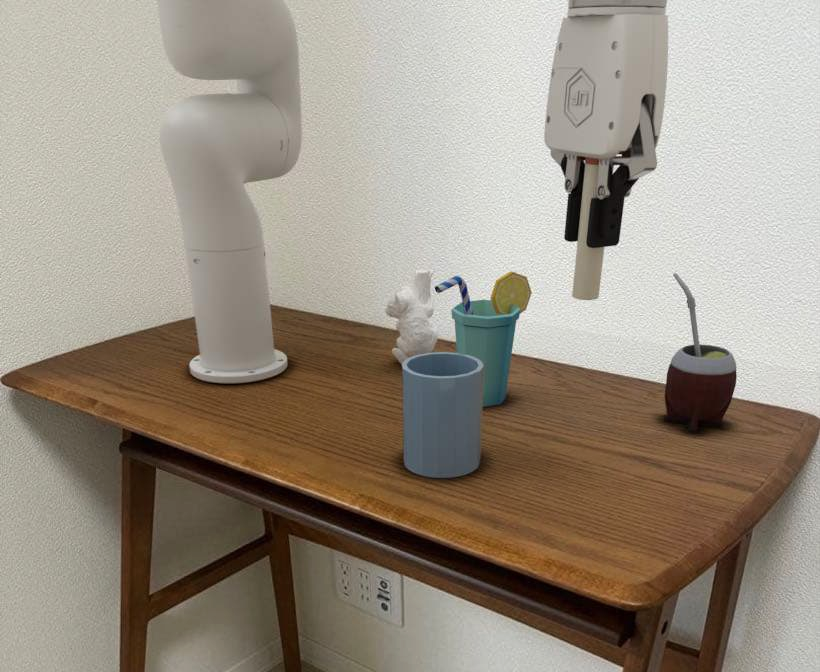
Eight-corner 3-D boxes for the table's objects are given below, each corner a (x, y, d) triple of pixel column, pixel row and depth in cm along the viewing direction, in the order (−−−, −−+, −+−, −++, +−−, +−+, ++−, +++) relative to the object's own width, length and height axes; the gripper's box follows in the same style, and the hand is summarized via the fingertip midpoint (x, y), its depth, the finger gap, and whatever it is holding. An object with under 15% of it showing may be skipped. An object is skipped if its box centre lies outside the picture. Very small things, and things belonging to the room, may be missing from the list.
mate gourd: (727, 438, 86) (756, 293, 78) (650, 430, 88) (671, 288, 80) (725, 413, 92) (752, 276, 85) (653, 406, 94) (673, 272, 87)
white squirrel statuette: (415, 352, 113) (414, 262, 107) (455, 361, 109) (457, 268, 103) (376, 369, 107) (373, 274, 101) (417, 378, 103) (417, 281, 97)
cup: (461, 425, 90) (464, 286, 82) (412, 407, 95) (410, 274, 87) (540, 393, 98) (550, 264, 91) (491, 378, 103) (497, 255, 95)
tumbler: (390, 455, 83) (388, 359, 78) (455, 441, 86) (457, 347, 81) (426, 484, 77) (426, 382, 72) (494, 468, 80) (498, 369, 75)
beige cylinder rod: (566, 295, 76) (582, 126, 69) (587, 292, 77) (605, 125, 70) (582, 301, 74) (601, 128, 67) (604, 298, 75) (625, 127, 68)
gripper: (518, -1, 68) (505, 232, 77) (652, -14, 56) (617, 265, 65) (590, 1, 71) (569, 225, 80) (732, -10, 59) (687, 256, 68)
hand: (591, 241), depth 73 cm, fingers closed on beige cylinder rod, 2 cm apart
